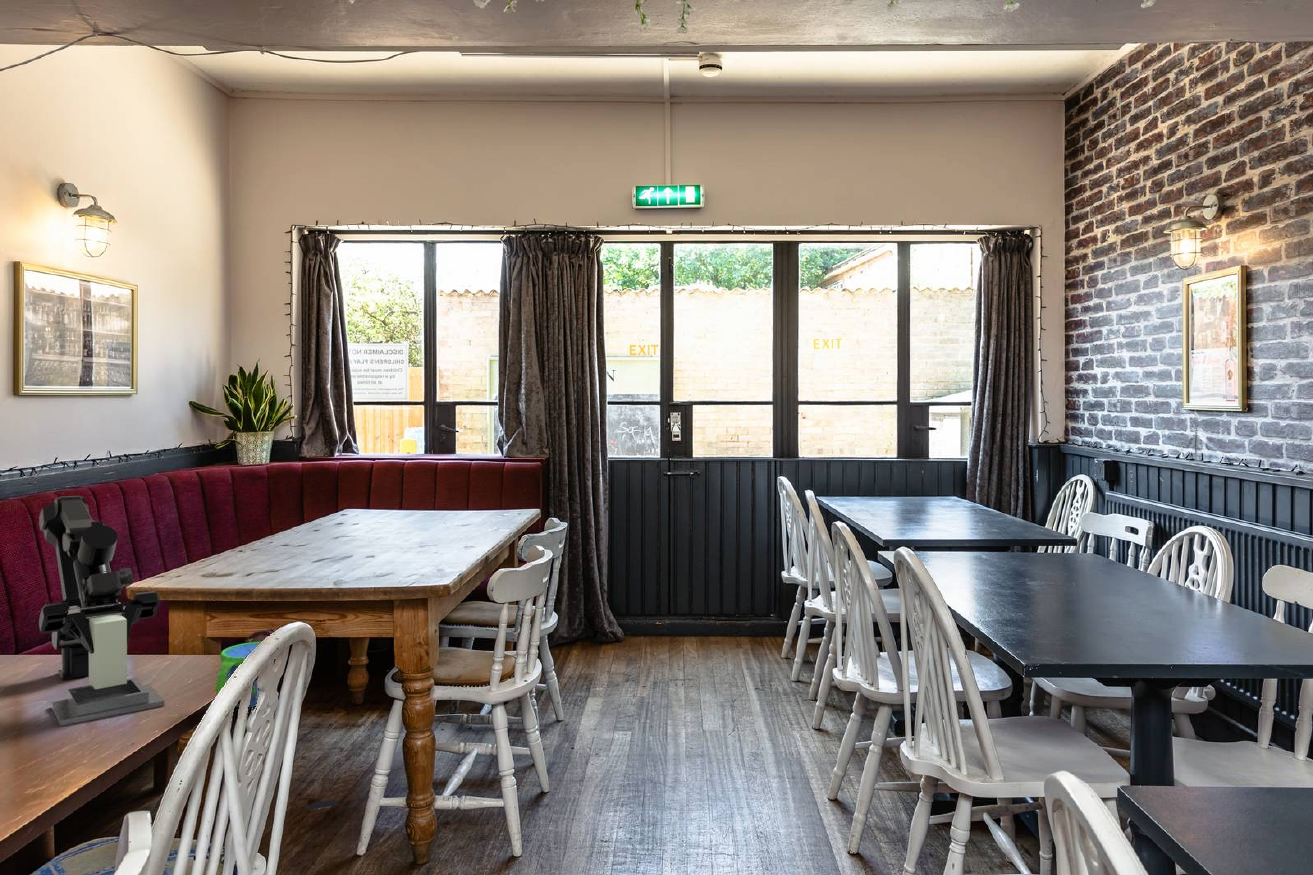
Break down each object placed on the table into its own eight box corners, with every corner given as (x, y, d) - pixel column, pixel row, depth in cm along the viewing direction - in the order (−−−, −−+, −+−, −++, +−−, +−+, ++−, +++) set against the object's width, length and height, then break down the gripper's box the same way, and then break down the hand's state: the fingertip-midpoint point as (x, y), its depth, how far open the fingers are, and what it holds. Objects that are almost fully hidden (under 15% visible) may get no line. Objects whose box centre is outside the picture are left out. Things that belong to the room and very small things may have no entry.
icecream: (277, 639, 181) (290, 628, 196) (241, 632, 180) (257, 621, 194) (268, 672, 181) (282, 658, 195) (231, 665, 179) (248, 651, 194)
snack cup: (238, 720, 152) (238, 663, 152) (195, 711, 156) (195, 656, 156) (304, 693, 167) (304, 642, 166) (264, 686, 171) (264, 635, 170)
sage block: (88, 682, 158) (88, 618, 157) (119, 677, 161) (119, 614, 161) (95, 689, 154) (94, 623, 154) (126, 683, 158) (126, 619, 157)
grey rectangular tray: (51, 707, 157) (50, 691, 157) (150, 689, 168) (150, 674, 167) (60, 726, 148) (60, 709, 148) (164, 705, 159) (164, 689, 159)
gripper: (41, 560, 153) (54, 634, 146) (157, 549, 166) (175, 616, 159) (33, 596, 159) (45, 668, 151) (146, 583, 172) (162, 649, 165)
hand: (109, 649), depth 156 cm, fingers closed on sage block, 5 cm apart
